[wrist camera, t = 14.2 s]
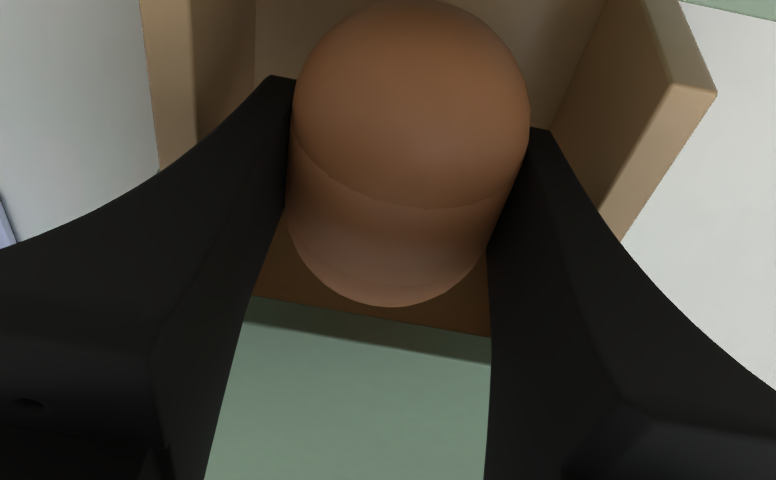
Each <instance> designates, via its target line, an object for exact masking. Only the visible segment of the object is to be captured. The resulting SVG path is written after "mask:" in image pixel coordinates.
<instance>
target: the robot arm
mask: <svg viewBox="0 0 776 480" xmlns="http://www.w3.org/2000/svg"><path fill="white" fill-rule="evenodd" d="M296 81H297V80H296V79H291V78H286V77H281V76H276V75H269V76H268V77H266V78H264V80H263V81H262V82H261V83H260V84H259V85H258V86H257V87H256V89H255V90H254V91H253V92H252V93H251V94H250V95H249V96H248V97H247V98H246V99H245V100H244V101H243V102H242V103H241V104H240V105H239V106H238V107H237V108H236V109H235V110H234V111H233V112H232V113H231V114H230V115H229V116H228V117H227V118H226V119H224V120H223V121H222V122H221V123H220V124H219V125H218V126H217V127H216V128H215V129H214V130H212V131H211V132H210V133H209V134H208V135H207V136H206V137H204V138H203V139H202V140H201V141H199V142H198V143H197V144H196V145H194V146H193V147H192V148H191V149H190V150H188V151H187V152H186V153H185V154H183V155H182V156H181V157H180V158H178V159H177V160H176V161H174V162H173V163H171V164H170V165H169V166H167V167H166V168H164V169H163V170H162V171H160V172H159V173H157V174H156V175H154V176H153V177H151V178H150V179H148V180H147V181H145V182H143V183H142V184H140V185H139V186H137V187H135V188H134V189H132V190H130V191H129V192H127V193H125V194H123V195H122V196H120V197H118V198H116V199H115V200H113V201H111V202H109V203H107V204H105V205H103V206H102V207H100V208H98V209H96V210H94V211H92V212H90V213H88V214H86V215H84V216H81V217H79V218H77V219H75V220H73V221H71V222H68V223H66V224H64V225H61V226H59V227H57V228H54V229H52V230H50V231H47V232H45V233H42V234H40V235H37V236H35V237H32V238H30V239H27V240H24V241H22V242H19V243H17V242H16V240H15V237H14V235H13V232H12V230H11V227H10V224H9V222H8V219H7V217H6V214H5V212H4V209H3V206H2V204H1V201H0V480H204V478H205V474H206V469H207V465H208V461H209V456H210V452H211V447H212V443H213V439H214V435H215V431H216V427H217V423H218V419H219V414H220V410H221V406H222V402H223V398H224V394H225V390H226V386H227V382H228V378H229V374H230V370H231V366H232V362H233V358H234V354H235V351H236V347H237V343H238V339H239V335H240V332H241V328H242V324H243V320H244V316H245V313H246V310H247V307H248V304H249V300H250V297H251V294H252V292H253V289H254V286H255V284H256V281H257V279H258V276H259V273H260V271H261V268H262V265H263V263H264V260H265V258H266V255H267V252H268V250H269V247H270V244H271V242H272V239H273V237H274V234H275V231H276V229H277V226H278V223H279V221H280V218H281V215H282V213H283V210H284V207H285V186H286V172H287V158H288V144H289V130H290V114H291V108H292V103H293V97H294V91H295V85H296ZM486 263H487V280H488V296H489V312H490V328H491V374H490V395H489V411H488V426H487V441H486V453H485V464H484V476H483V480H776V391H775V390H774V389H773V388H771V387H770V386H769V385H767V384H766V383H765V382H763V381H762V380H761V379H759V378H758V377H757V376H755V375H754V374H752V373H751V372H750V371H748V370H747V369H746V368H745V367H743V366H742V365H741V364H740V363H738V362H737V361H736V360H735V359H734V358H732V357H731V356H730V355H729V354H728V353H727V352H725V351H724V350H723V349H722V348H721V347H719V346H718V345H717V344H716V343H715V342H713V341H712V340H711V339H710V338H709V337H708V336H707V335H706V334H705V333H703V332H702V331H701V330H700V329H699V328H698V327H697V326H696V325H695V324H694V323H692V322H691V321H690V320H689V319H688V318H687V317H686V316H685V315H684V314H683V313H682V312H681V311H680V310H679V309H678V308H677V307H676V306H675V305H674V304H673V303H672V302H671V301H670V300H669V299H668V298H667V297H666V296H665V295H664V294H663V293H662V291H661V290H660V289H659V288H658V287H657V286H656V285H655V284H654V283H653V282H652V281H651V279H650V278H649V277H648V276H647V275H646V274H645V272H644V271H643V270H642V269H641V268H640V267H639V265H638V264H637V263H636V262H635V261H634V260H633V258H632V257H631V256H630V255H629V253H628V252H627V251H626V250H625V248H624V247H623V246H622V244H621V243H620V242H619V240H618V239H617V237H616V236H615V235H614V233H613V232H612V231H611V229H610V228H609V226H608V225H607V224H606V222H605V221H604V219H603V218H602V216H601V215H600V213H599V212H598V210H597V209H596V207H595V206H594V204H593V203H592V201H591V200H590V198H589V196H588V195H587V193H586V192H585V190H584V188H583V187H582V185H581V184H580V182H579V180H578V179H577V177H576V175H575V173H574V172H573V170H572V168H571V167H570V165H569V163H568V161H567V160H566V158H565V156H564V154H563V153H562V151H561V149H560V147H559V145H558V144H557V142H556V140H555V138H554V137H553V135H552V133H551V132H550V130H545V129H540V128H535V127H530V131H529V143H528V146H527V149H526V153H525V156H524V159H523V162H522V166H521V168H520V171H519V173H518V175H517V177H516V180H515V182H514V184H513V187H512V189H511V191H510V194H509V196H508V198H507V201H506V203H505V205H504V207H503V210H502V212H501V214H500V217H499V219H498V221H497V224H496V226H495V228H494V231H493V233H492V235H491V237H490V240H489V242H488V244H487V246H486Z"/></svg>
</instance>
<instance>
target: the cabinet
mask: <svg viewBox="0 0 776 480" xmlns="http://www.w3.org/2000/svg"><path fill="white" fill-rule="evenodd" d="M159 172H160V167H159V169H158V171H157V173H159ZM157 173H156V174H157ZM490 374H491V337H486V336H480V335H474V334H469V333H463V332H458V331H452V330H446V329H441V328H435V327H429V326H424V325H418V324H413V323H407V322H401V321H396V320H390V319H385V318H379V317H373V316H368V315H362V314H357V313H351V312H345V311H340V310H334V309H328V308H323V307H317V306H312V305H306V304H300V303H295V302H289V301H284V300H278V299H272V298H267V297H261V296H256V295H251V297H250V300H249V304H248V307H247V310H246V313H245V316H244V320H243V324H242V328H241V332H240V335H239V339H238V343H237V347H236V351H235V354H234V358H233V362H232V366H231V370H230V374H229V378H228V382H227V386H226V390H225V394H224V398H223V402H222V406H221V410H220V414H219V419H218V423H217V427H216V431H215V435H214V439H213V443H212V447H211V452H210V456H209V461H208V465H207V469H206V474H205V478H204V480H483V476H484V464H485V453H486V441H487V426H488V411H489V395H490Z"/></svg>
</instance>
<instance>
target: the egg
mask: <svg viewBox="0 0 776 480" xmlns="http://www.w3.org/2000/svg"><path fill="white" fill-rule="evenodd" d="M530 109H531V108H530V103H529V98H528V93H527V88H526V84H525V80H524V76H523V74H522V72H521V70H520V68H519V66H518V64H517V62H516V60H515V58H514V56H513V54H512V53H511V51H510V49H509V48H508V47H507V45H506V44H505V43H504V42H503V41H502V40H501V38H500V37H499V36H498V35H497V34H496V33H495V32H494V31H493V30H492V29H491V27H489V26H488V25H487V24H486V23H485V22H483V21H482V20H481V19H479V18H478V17H476V16H474V15H473V14H471V13H469V12H467V11H465V10H463V9H461V8H459V7H456V6H454V5H451V4H449V3H446V2H442V1H438V0H383V1H380V2H377V3H375V4H372V5H369V6H366V7H364V8H361V9H358V10H356V11H355V12H353V13H351V14H350V15H348V16H347V17H345V18H344V19H342V20H341V21H340V22H338V23H337V24H336V25H334V26H333V27H332V28H331V29H330V30H329V31H328V32H327V33H326V34H325V35H324V36H323V37H322V38H321V40H320V41H319V42H318V43H317V44H316V46H315V47H314V48H313V49H312V51H311V52H310V54H309V56H308V58H307V60H306V62H305V64H304V66H303V68H302V70H301V72H300V74H299V77H298V79H297V81H296V85H295V91H294V97H293V103H292V108H291V114H290V130H289V144H288V158H287V172H286V186H285V212H286V219H287V227H288V229H289V232H290V235H291V237H292V240H293V242H294V245H295V247H296V250H297V252H298V254H299V255H300V257H301V258H302V260H303V261H304V263H305V264H306V265H307V267H308V268H309V269H310V270H311V271H312V272H313V274H314V275H315V276H316V277H317V278H319V279H320V280H321V281H322V282H323V283H324V284H325V285H326V286H328V287H329V288H331V289H332V290H334V291H335V292H337V293H338V294H340V295H342V296H344V297H347V298H349V299H351V300H353V301H356V302H360V303H364V304H367V305H371V306H380V307H403V306H409V305H413V304H418V303H422V302H424V301H427V300H430V299H432V298H434V297H436V296H438V295H440V294H443V293H445V292H446V291H448V290H449V289H450V288H452V287H453V286H454V285H455V284H457V283H458V282H459V281H460V280H461V279H463V278H464V277H465V276H466V275H467V274H468V273H469V272H470V271H471V269H472V268H473V267H474V265H475V264H476V263H477V262H478V260H479V258H480V257H481V255H482V253H483V252H484V250H485V248H486V246H487V244H488V242H489V240H490V237H491V235H492V233H493V231H494V228H495V226H496V224H497V221H498V219H499V217H500V214H501V212H502V210H503V207H504V205H505V203H506V201H507V198H508V196H509V194H510V191H511V189H512V187H513V184H514V182H515V180H516V177H517V175H518V173H519V171H520V168H521V166H522V162H523V159H524V156H525V153H526V149H527V146H528V143H529V131H530Z"/></svg>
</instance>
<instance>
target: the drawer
mask: <svg viewBox="0 0 776 480" xmlns="http://www.w3.org/2000/svg"><path fill="white" fill-rule="evenodd" d="M380 1H383V0H139V4H140V13H141V21H142V29H143V37H144V45H145V53H146V61H147V69H148V77H149V85H150V93H151V101H152V109H153V117H154V125H155V133H156V141H157V149H158V157H159V165H160V171H162V170H163V169H164V168H166V167H167V166H169V165H170V164H171V163H173V162H174V161H176V160H177V159H178V158H180V157H181V156H182V155H183V154H185V153H186V152H187V151H188V150H190V149H191V148H192V147H193V146H194V145H196V144H197V143H198V142H199V141H201V140H202V139H203V138H204V137H206V136H207V135H208V134H209V133H210V132H211V131H212V130H214V129H215V128H216V127H217V126H218V125H219V124H220V123H221V122H222V121H223V120H224V119H226V118H227V117H228V116H229V115H230V114H231V113H232V112H233V111H234V110H235V109H236V108H237V107H238V106H239V105H240V104H241V103H242V102H243V101H244V100H245V99H246V98H247V97H248V96H249V95H250V94H251V93H252V92H253V91H254V90H255V89H256V87H257V86H258V85H259V84H260V83H261V82H262V81H263V80H264V78H266V77H268V76H269V75H276V76H281V77H286V78H291V79H296V80H297V79H298V77H299V74H300V72H301V70H302V68H303V66H304V64H305V62H306V60H307V58H308V56H309V54H310V52H311V51H312V49H313V48H314V47H315V46H316V44H317V43H318V42H319V41H320V40H321V38H322V37H323V36H324V35H325V34H326V33H327V32H328V31H329V30H330V29H331V28H332V27H333V26H334V25H336V24H337V23H338V22H340V21H341V20H342V19H344V18H345V17H347V16H348V15H350V14H351V13H353V12H355V11H356V10H358V9H361V8H364V7H366V6H369V5H372V4H375V3H377V2H380ZM438 1H442V2H446V3H449V4H451V5H454V6H456V7H459V8H461V9H463V10H465V11H467V12H469V13H471V14H473V15H474V16H476V17H478V18H479V19H481V20H482V21H483V22H485V23H486V24H487V25H488V26H489V27H491V29H492V30H493V31H494V32H495V33H496V34H497V35H498V36H499V37H500V38H501V40H502V41H503V42H504V43H505V44H506V45H507V47H508V48H509V49H510V51H511V53H512V54H513V56H514V58H515V60H516V62H517V64H518V66H519V68H520V70H521V72H522V74H523V76H524V80H525V84H526V88H527V93H528V98H529V103H530V108H531V109H530V127H535V128H540V129H545V130H550V132H551V133H552V135H553V137H554V138H555V140H556V142H557V144H558V145H559V147H560V149H561V151H562V153H563V154H564V156H565V158H566V160H567V161H568V163H569V165H570V167H571V168H572V170H573V172H574V173H575V175H576V177H577V179H578V180H579V182H580V184H581V185H582V187H583V188H584V190H585V192H586V193H587V195H588V196H589V198H590V200H591V201H592V203H593V204H594V206H595V207H596V209H597V210H598V212H599V213H600V215H601V216H602V218H603V219H604V221H605V222H606V224H607V225H608V226H609V228H610V229H611V231H612V232H613V233H614V235H615V236H616V237H617V239H618V240H619V242H621V240H622V239H623V237H624V236H625V234H626V233H627V231H628V230H629V228H630V227H631V225H632V224H633V222H634V220H635V219H636V217H637V216H638V214H639V213H640V211H641V210H642V208H643V207H644V205H645V204H646V202H647V201H648V199H649V198H650V196H651V195H652V193H653V192H654V190H655V189H656V187H657V186H658V184H659V183H660V181H661V180H662V178H663V177H664V175H665V174H666V172H667V171H668V169H669V168H670V166H671V165H672V163H673V162H674V160H675V159H676V157H677V156H678V154H679V153H680V151H681V150H682V148H683V146H684V145H685V143H686V142H687V140H688V139H689V137H690V136H691V134H692V133H693V131H694V130H695V128H696V127H697V125H698V124H699V122H700V121H701V119H702V118H703V116H704V115H705V113H706V112H707V110H708V109H709V107H710V106H711V104H712V103H713V101H714V100H715V98H716V97H717V92H718V91H717V89H716V87H715V85H714V82H713V80H712V78H711V75H710V73H709V71H708V68H707V66H706V64H705V62H704V59H703V57H702V55H701V52H700V50H699V48H698V45H697V43H696V41H695V38H694V36H693V34H692V32H691V29H690V27H689V25H688V22H687V20H686V18H685V15H684V13H683V11H682V9H681V6H680V4H679V2H678V1H682V2H687V3H692V4H696V5H701V6H706V7H710V8H715V9H720V10H724V11H729V12H733V13H738V14H743V15H747V16H752V17H757V18H761V19H766V20H771V21H775V22H776V0H438ZM251 295H256V296H261V297H267V298H272V299H278V300H284V301H289V302H295V303H300V304H306V305H312V306H317V307H323V308H328V309H334V310H340V311H345V312H351V313H357V314H362V315H368V316H373V317H379V318H385V319H390V320H396V321H401V322H407V323H413V324H418V325H424V326H429V327H435V328H441V329H446V330H452V331H458V332H463V333H469V334H474V335H480V336H486V337H491V328H490V312H489V296H488V280H487V263H486V248H485V250H484V252H483V253H482V255H481V257H480V258H479V260H478V262H477V263H476V264H475V265H474V267H473V268H472V269H471V271H470V272H469V273H468V274H467V275H466V276H465V277H464V278H463V279H461V280H460V281H459V282H458V283H457V284H455V285H454V286H453V287H452V288H450V289H449V290H448V291H446V292H445V293H443V294H440V295H438V296H436V297H434V298H432V299H430V300H427V301H424V302H422V303H418V304H413V305H409V306H403V307H380V306H371V305H367V304H364V303H360V302H356V301H353V300H351V299H349V298H347V297H344V296H342V295H340V294H338V293H337V292H335V291H334V290H332V289H331V288H329V287H328V286H326V285H325V284H324V283H323V282H322V281H321V280H320V279H319V278H317V277H316V276H315V275H314V274H313V272H312V271H311V270H310V269H309V268H308V267H307V265H306V264H305V263H304V261H303V260H302V258H301V257H300V255H299V254H298V252H297V250H296V247H295V245H294V242H293V240H292V237H291V235H290V232H289V229H288V227H287V219H286V212H285V207H284V210H283V213H282V215H281V218H280V221H279V223H278V226H277V229H276V231H275V234H274V237H273V239H272V242H271V244H270V247H269V250H268V252H267V255H266V258H265V260H264V263H263V265H262V268H261V271H260V273H259V276H258V279H257V281H256V284H255V286H254V289H253V292H252V294H251Z"/></svg>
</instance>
